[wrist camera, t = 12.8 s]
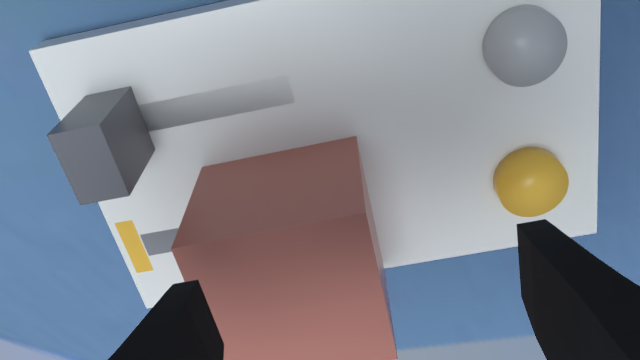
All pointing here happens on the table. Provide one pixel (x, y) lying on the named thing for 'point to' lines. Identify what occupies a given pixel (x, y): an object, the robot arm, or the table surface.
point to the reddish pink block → (289, 256)
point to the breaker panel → (338, 115)
